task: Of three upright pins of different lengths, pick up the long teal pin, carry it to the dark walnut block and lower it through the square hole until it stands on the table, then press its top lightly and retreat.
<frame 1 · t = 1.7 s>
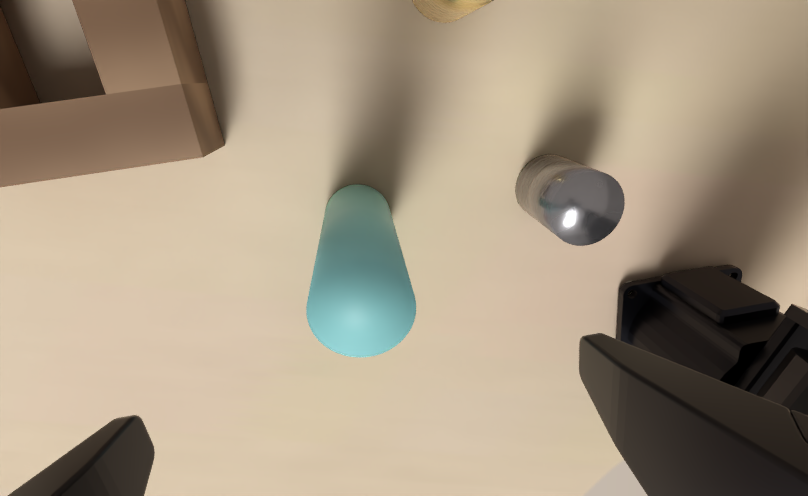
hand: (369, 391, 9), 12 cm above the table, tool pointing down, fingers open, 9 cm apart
pin long: (357, 216, 21), on the table
hole block: (72, 43, 17), on the table
pin short: (546, 186, 21), on the table
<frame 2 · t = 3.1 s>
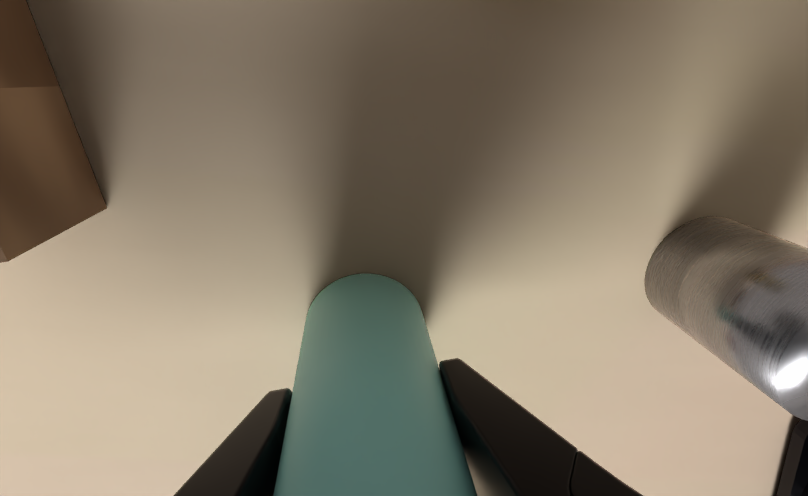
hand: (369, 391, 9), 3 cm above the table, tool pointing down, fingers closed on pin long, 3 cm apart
pin long: (365, 327, 11), on the table, touching gripper
pin short: (698, 269, 12), on the table
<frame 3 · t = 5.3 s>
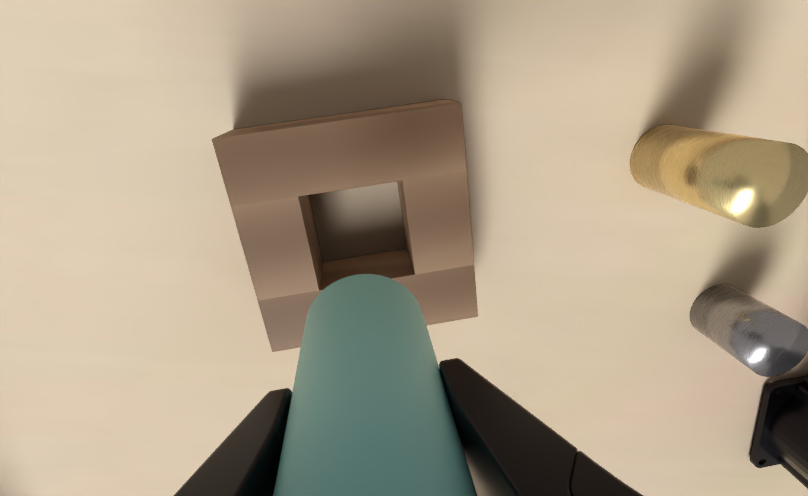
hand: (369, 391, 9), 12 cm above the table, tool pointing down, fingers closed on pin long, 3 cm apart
pin medium: (660, 157, 21), on the table
pin long: (365, 327, 11), point 10 cm above the table, touching gripper
hole block: (358, 215, 20), on the table
pin short: (715, 308, 25), on the table
when the fingers open (4 cm above the table, at t = 7.3 s): pin long drops 2 cm, resting in hole block.
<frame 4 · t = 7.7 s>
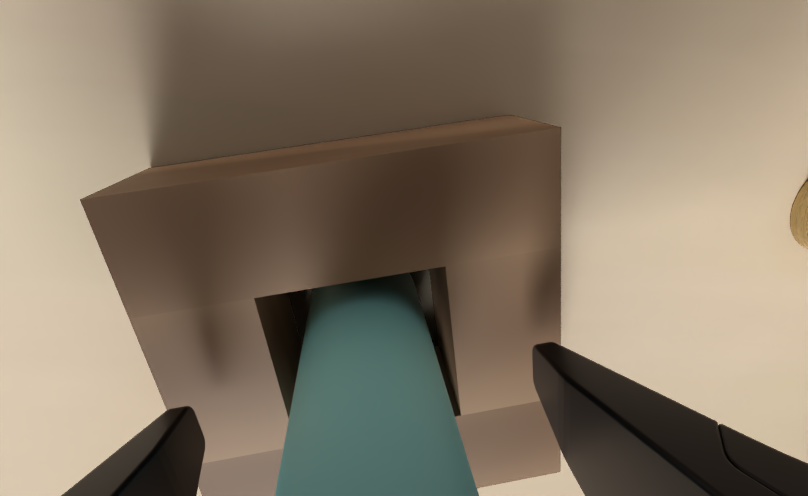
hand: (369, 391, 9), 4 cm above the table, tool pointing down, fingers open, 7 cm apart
pin long: (364, 299, 13), resting in hole block
hole block: (362, 299, 13), on the table
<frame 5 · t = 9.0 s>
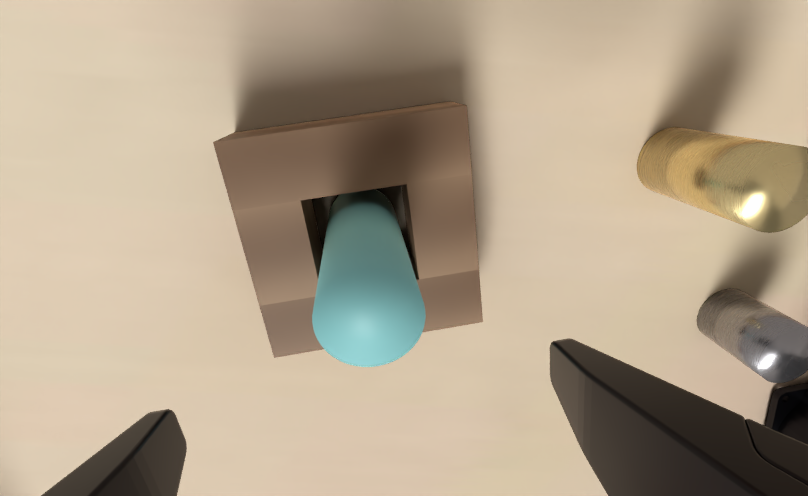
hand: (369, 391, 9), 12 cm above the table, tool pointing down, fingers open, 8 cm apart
pin medium: (667, 160, 21), on the table
pin long: (362, 219, 20), resting in hole block
hole block: (361, 219, 20), on the table
pin short: (723, 313, 24), on the table
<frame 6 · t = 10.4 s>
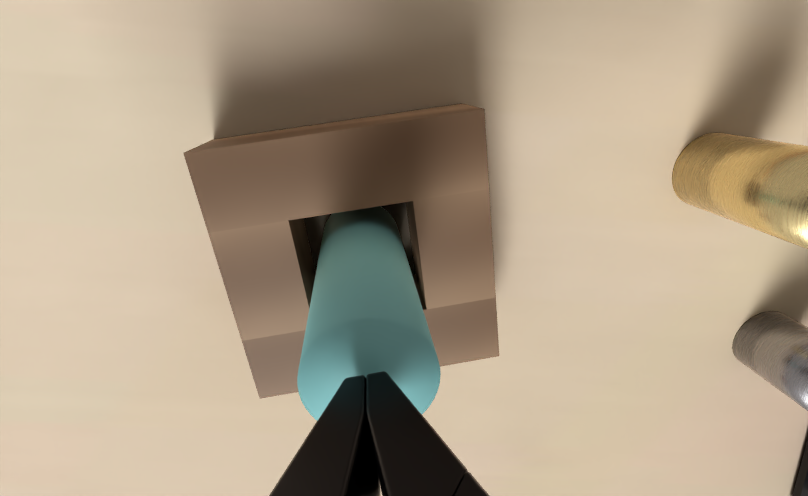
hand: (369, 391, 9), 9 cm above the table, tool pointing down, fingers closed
pin medium: (707, 170, 18), on the table
pin long: (361, 237, 18), resting in hole block
hole block: (359, 237, 18), on the table
pin short: (761, 338, 22), on the table
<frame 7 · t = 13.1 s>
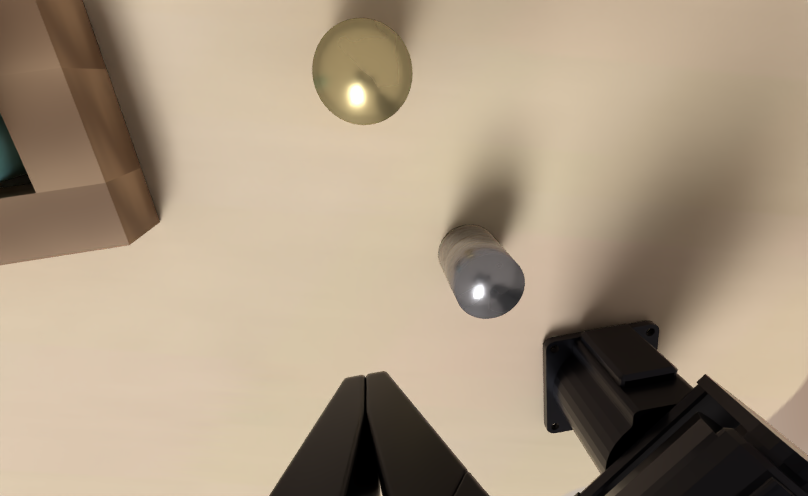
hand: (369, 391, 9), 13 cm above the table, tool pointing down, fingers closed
pin medium: (359, 74, 19), on the table
pin long: (14, 136, 18), resting in hole block
hole block: (12, 136, 18), on the table
pin short: (467, 252, 23), on the table
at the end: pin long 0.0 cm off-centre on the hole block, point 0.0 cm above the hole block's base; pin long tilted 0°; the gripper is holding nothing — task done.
